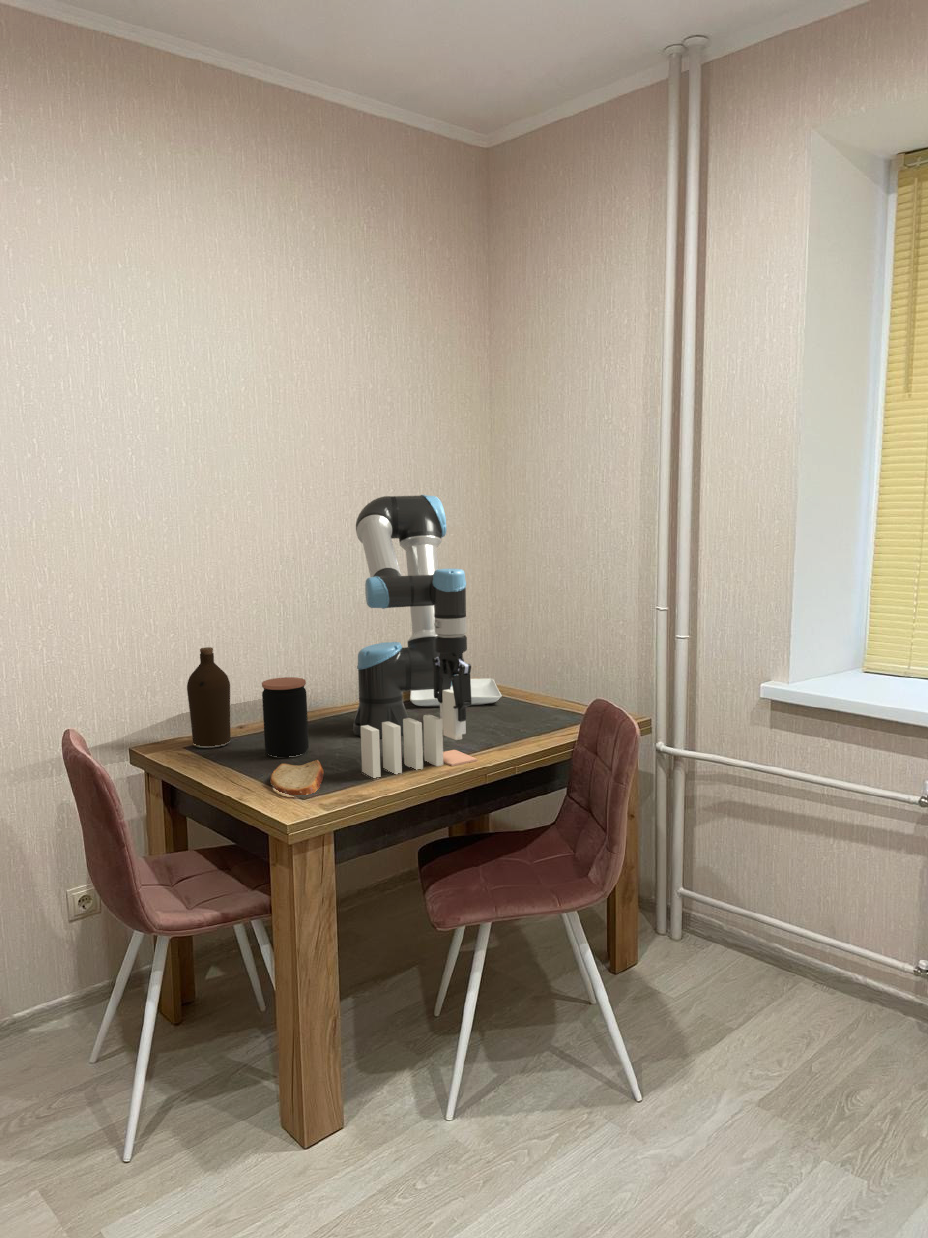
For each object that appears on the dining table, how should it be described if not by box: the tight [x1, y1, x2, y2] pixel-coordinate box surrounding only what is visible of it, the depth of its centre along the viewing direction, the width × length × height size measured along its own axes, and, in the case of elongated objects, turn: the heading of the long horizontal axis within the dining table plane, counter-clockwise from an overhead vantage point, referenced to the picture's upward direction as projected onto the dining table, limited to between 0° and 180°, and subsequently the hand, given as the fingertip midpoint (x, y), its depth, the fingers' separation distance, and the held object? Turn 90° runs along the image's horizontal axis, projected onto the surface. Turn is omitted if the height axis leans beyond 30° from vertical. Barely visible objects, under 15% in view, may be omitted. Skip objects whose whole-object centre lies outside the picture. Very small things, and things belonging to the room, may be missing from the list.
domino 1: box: [360, 725, 382, 778], centre depth 212 cm, size 2×6×11 cm, turn 33°
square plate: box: [409, 677, 502, 708], centre depth 289 cm, size 27×27×4 cm
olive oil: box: [186, 646, 232, 746], centre depth 240 cm, size 11×11×25 cm
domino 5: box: [442, 689, 463, 741], centre depth 223 cm, size 2×6×11 cm, turn 33°
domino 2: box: [381, 721, 403, 775], centre depth 215 cm, size 2×6×11 cm, turn 33°
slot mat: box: [443, 749, 478, 767], centre depth 224 cm, size 7×10×1 cm
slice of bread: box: [269, 759, 325, 795], centre depth 208 cm, size 18×18×4 cm
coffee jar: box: [261, 676, 310, 757], centre depth 231 cm, size 11×11×18 cm
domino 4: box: [422, 713, 444, 767], centre depth 221 cm, size 2×6×11 cm, turn 33°
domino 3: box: [403, 717, 424, 771], centre depth 218 cm, size 2×6×11 cm, turn 33°
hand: (453, 731), depth 223 cm, fingers closed on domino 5, 6 cm apart
